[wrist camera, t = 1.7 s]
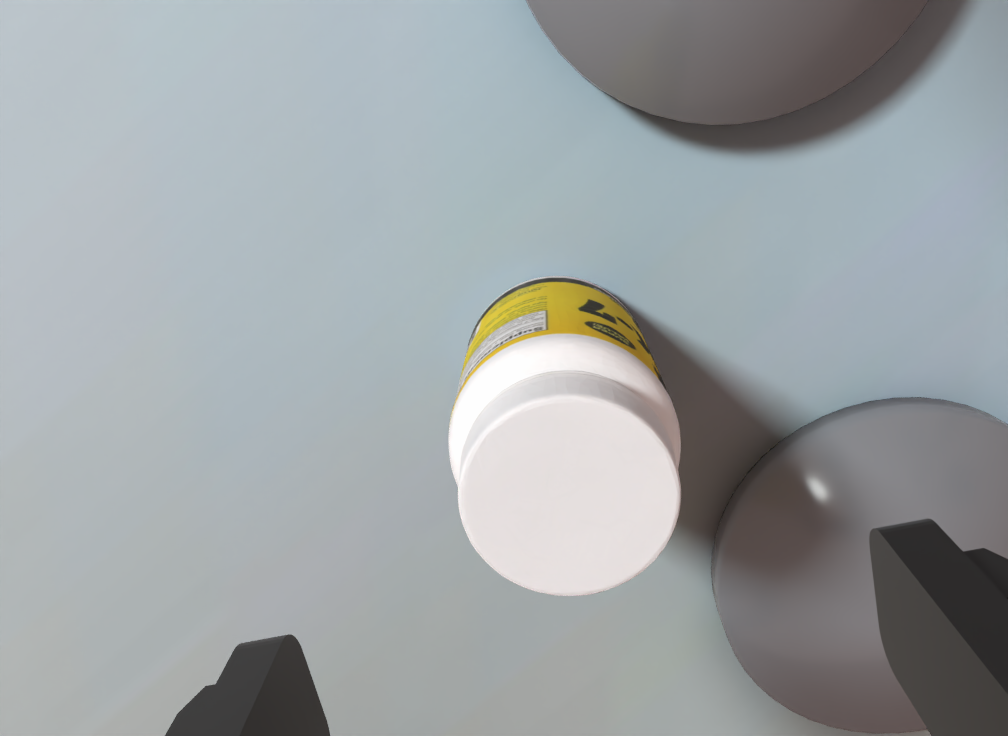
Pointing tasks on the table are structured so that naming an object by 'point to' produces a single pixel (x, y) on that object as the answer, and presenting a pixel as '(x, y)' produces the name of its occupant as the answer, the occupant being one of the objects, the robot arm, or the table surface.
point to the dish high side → (722, 51)
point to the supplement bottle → (564, 440)
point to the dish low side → (848, 547)
